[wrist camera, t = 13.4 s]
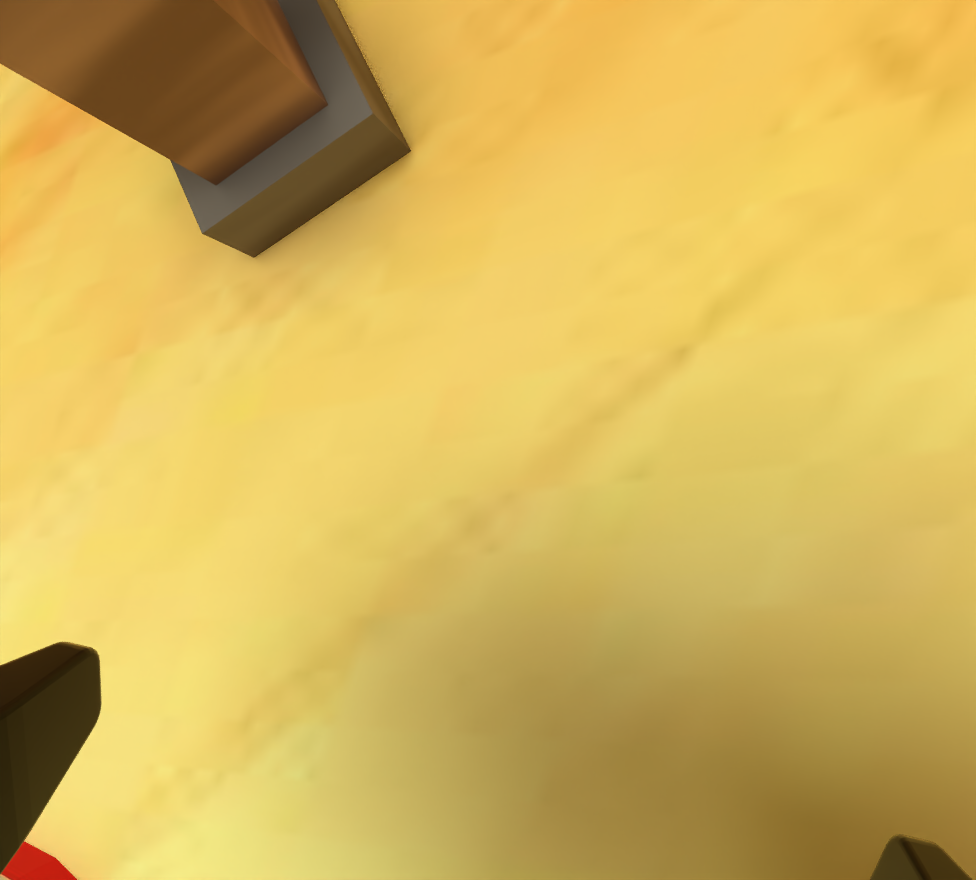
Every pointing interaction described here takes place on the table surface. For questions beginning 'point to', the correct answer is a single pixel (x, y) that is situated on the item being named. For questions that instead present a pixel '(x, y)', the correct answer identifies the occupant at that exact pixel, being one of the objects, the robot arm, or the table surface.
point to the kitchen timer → (34, 866)
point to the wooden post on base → (220, 99)
